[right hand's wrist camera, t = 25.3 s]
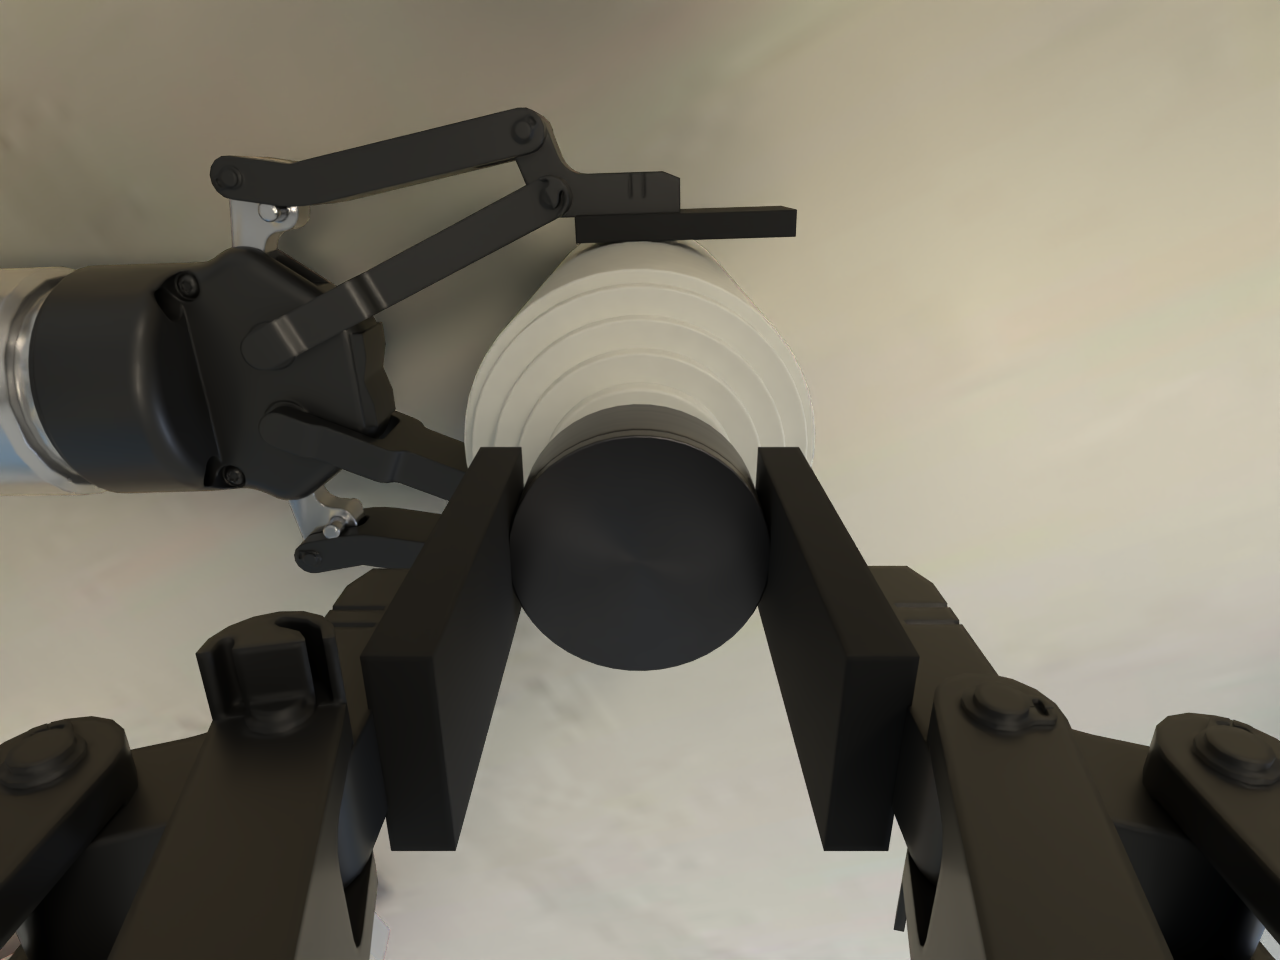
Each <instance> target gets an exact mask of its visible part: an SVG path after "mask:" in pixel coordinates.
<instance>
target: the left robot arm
mask: <svg viewBox="0 0 1280 960" xmlns="http://www.w3.org/2000/svg"><path fill="white" fill-rule="evenodd" d="M511 161H516V162H517V164H518V167H519V169H520V171H521V174H522V176H523V178H524V181H525V183H526V186H524V187H522V188H520V189H518V190H517V191H515V192H513V193H511V194H509V195H507V196H505V197H504V198H502V199H500V200H498V201H496V202H494V203H492V204H491V205H489V206H487V207H485V208H483V209H481V210H479V211H478V212H476V213H474V214H472V215H470V216H468V217H466V218H465V219H463V220H461V221H459V222H457V223H455V224H453V225H452V226H450V227H448V228H446V229H444V230H442V231H440V232H439V233H437V234H435V235H433V236H431V237H429V238H427V239H426V240H424V241H422V242H420V243H418V244H416V245H415V246H413V247H411V248H409V249H407V250H405V251H403V252H402V253H400V254H398V255H396V256H394V257H392V258H390V259H389V260H387V261H385V262H383V263H381V264H379V265H377V266H376V267H374V268H372V269H370V270H368V271H366V272H364V273H362V274H360V275H358V276H356V277H354V278H352V279H350V280H348V281H346V282H344V283H342V284H340V285H338V286H336V285H334V284H333V283H331V282H330V281H328V280H327V279H325V278H323V277H322V276H320V275H319V274H317V273H315V272H314V271H312V270H311V269H309V268H308V267H306V266H304V265H303V264H301V263H300V262H298V261H296V260H295V259H293V258H292V257H290V256H289V255H287V254H285V253H284V252H282V251H281V250H279V249H277V245H278V240H279V238H280V236H281V235H282V234H283V233H284V232H286V231H288V230H293V229H299V228H301V227H303V226H304V225H305V224H306V223H307V222H308V220H309V218H310V205H320V204H329V203H337V202H343V201H349V200H353V199H357V198H361V197H366V196H370V195H374V194H378V193H382V192H386V191H391V190H395V189H399V188H403V187H407V186H411V185H416V184H420V183H424V182H428V181H432V180H436V179H441V178H445V177H449V176H453V175H457V174H461V173H466V172H470V171H474V170H478V169H482V168H486V167H491V166H495V165H499V164H503V163H507V162H511ZM210 178H211V182H212V184H213V186H214V187H215V189H216V191H217V192H218V193H220V194H221V195H222V196H223V197H226V198H229V200H230V216H231V232H232V248H229V249H227V250H225V251H223V252H222V253H220V254H219V255H218V256H216V257H215V258H214V259H212V260H210V261H208V262H193V263H160V264H128V265H97V266H87V267H84V268H80V269H78V270H75V269H71V268H67V267H63V266H61V267H32V268H3V269H0V496H37V495H89V494H98V493H103V492H105V491H111V492H116V493H150V492H186V491H216V490H227V489H236V488H250V489H256V490H259V491H262V492H265V493H267V494H270V495H272V496H274V497H276V498H279V499H283V500H288V502H289V504H290V507H291V509H292V512H293V514H294V517H295V519H296V522H297V524H298V527H299V529H300V532H301V534H302V537H303V540H304V541H303V542H302V543H301V544H300V545H299V547H298V548H297V549H296V550H295V554H294V557H295V561H296V563H297V564H298V566H299V567H300V568H302V569H303V570H304V571H307V572H310V573H320V572H326V571H331V570H337V569H342V568H348V567H354V566H359V565H367V566H374V567H382V568H411V566H412V565H413V563H414V561H415V560H416V558H417V556H418V554H419V553H420V551H421V549H422V547H423V546H424V544H425V542H426V540H427V539H428V537H429V535H430V534H431V532H432V530H433V528H434V527H435V525H436V523H437V521H438V520H439V518H440V516H441V514H436V513H429V512H422V511H415V510H407V509H400V508H390V507H372V508H364V509H363V507H362V503H361V501H360V500H358V499H356V498H351V499H349V498H339V497H336V496H334V495H332V494H330V493H329V492H328V491H327V490H326V488H325V486H324V484H325V483H326V482H328V481H329V480H330V479H331V478H333V477H334V476H335V475H336V474H337V473H339V472H340V471H341V470H342V469H344V470H346V471H349V472H352V473H355V474H357V475H360V476H363V477H366V478H368V479H371V480H374V481H377V482H381V483H390V482H398V483H402V484H405V485H407V486H410V487H413V488H415V489H418V490H421V491H424V492H426V493H429V494H432V495H434V496H437V497H440V498H443V499H445V500H448V501H450V499H451V497H452V495H453V494H454V492H455V490H456V488H457V487H458V485H459V483H460V482H461V480H462V478H463V476H464V475H465V473H466V471H467V469H468V466H467V462H466V453H465V445H464V442H461V441H458V440H456V439H453V438H450V437H448V436H445V435H443V434H440V433H437V432H435V431H432V430H430V429H427V428H426V427H424V425H423V424H422V422H420V421H419V420H417V419H415V418H413V417H410V416H407V415H405V414H402V413H400V412H397V411H395V410H396V409H395V402H394V396H393V389H392V387H391V384H390V382H389V380H388V377H387V375H386V373H385V371H384V368H383V362H384V353H385V338H384V331H383V325H382V322H376V321H375V318H374V317H373V315H375V314H377V313H379V312H381V311H382V310H384V309H386V308H388V307H390V306H392V305H394V304H396V303H398V302H399V301H401V300H403V299H405V298H407V297H409V296H411V295H413V294H415V293H417V292H418V291H420V290H422V289H424V288H426V287H428V286H430V285H432V284H434V283H436V282H437V281H439V280H441V279H443V278H445V277H447V276H449V275H451V274H453V273H455V272H456V271H458V270H460V269H462V268H464V267H466V266H468V265H470V264H472V263H474V262H475V261H477V260H479V259H481V258H483V257H485V256H487V255H489V254H491V253H493V252H494V251H496V250H498V249H500V248H502V247H504V246H506V245H508V244H510V243H512V242H513V241H515V240H517V239H519V238H521V237H523V236H525V235H527V234H529V233H530V232H532V231H534V230H536V229H538V228H540V227H542V226H544V225H546V224H548V223H549V222H551V221H553V220H555V219H557V218H564V217H575V230H576V243H607V242H639V241H671V240H703V239H735V238H767V237H796V218H797V210H796V209H792V208H788V207H784V206H762V207H731V208H699V209H680V178H678V177H676V176H673V175H671V174H668V173H666V172H663V171H658V172H627V173H596V174H585V173H580V172H577V171H575V170H573V169H572V168H570V167H569V166H568V164H567V163H566V162H565V160H564V158H563V157H562V154H561V152H560V149H559V147H558V144H557V142H556V139H555V137H554V134H553V129H552V127H551V125H550V122H549V121H548V120H547V119H546V118H545V117H544V116H542V115H540V114H538V113H537V112H535V111H533V110H530V109H528V108H515V109H511V110H507V111H503V112H499V113H494V114H490V115H486V116H482V117H478V118H474V119H470V120H466V121H462V122H458V123H454V124H450V125H446V126H442V127H437V128H433V129H429V130H425V131H421V132H417V133H413V134H409V135H405V136H401V137H397V138H393V139H389V140H384V141H380V142H376V143H372V144H368V145H364V146H360V147H356V148H352V149H348V150H344V151H340V152H336V153H332V154H327V155H323V156H319V157H315V158H311V159H307V160H303V161H299V162H298V161H291V160H284V159H277V158H270V157H251V156H221V157H219V158H218V159H216V160H215V161H214V162H213V164H212V166H211V169H210Z"/></svg>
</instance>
